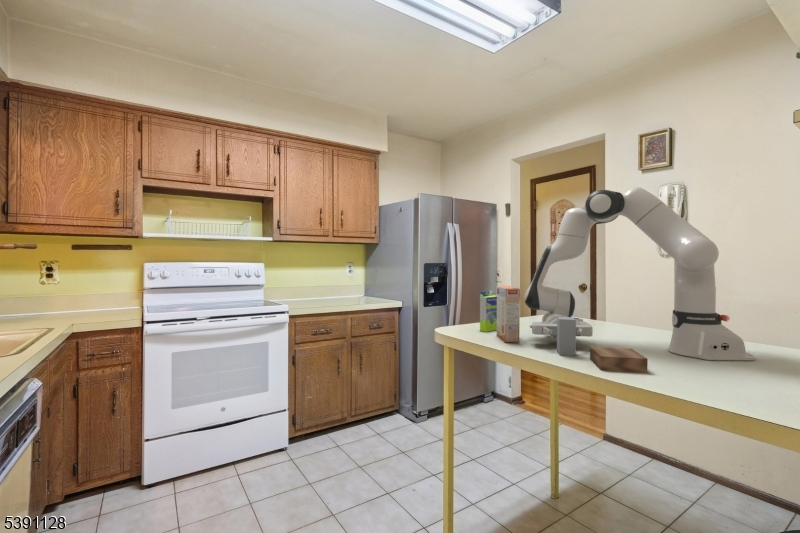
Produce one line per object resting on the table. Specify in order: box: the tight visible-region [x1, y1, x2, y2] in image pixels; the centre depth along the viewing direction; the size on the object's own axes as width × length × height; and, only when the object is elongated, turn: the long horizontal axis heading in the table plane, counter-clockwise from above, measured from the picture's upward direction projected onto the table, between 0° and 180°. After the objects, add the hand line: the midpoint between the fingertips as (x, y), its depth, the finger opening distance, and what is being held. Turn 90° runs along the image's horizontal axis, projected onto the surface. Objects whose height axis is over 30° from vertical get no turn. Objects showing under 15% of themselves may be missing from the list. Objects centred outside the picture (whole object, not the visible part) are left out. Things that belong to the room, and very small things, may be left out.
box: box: [479, 290, 497, 333], centre depth 171 cm, size 10×4×17 cm, turn 132°
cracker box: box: [495, 285, 521, 344], centre depth 152 cm, size 14×6×21 cm, turn 179°
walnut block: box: [589, 346, 648, 374], centre depth 114 cm, size 12×12×4 cm
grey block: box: [556, 316, 577, 357], centre depth 129 cm, size 5×5×12 cm
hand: (564, 333), depth 131 cm, fingers open, 8 cm apart
